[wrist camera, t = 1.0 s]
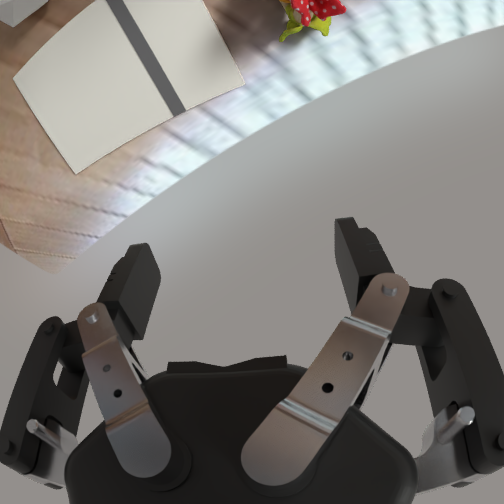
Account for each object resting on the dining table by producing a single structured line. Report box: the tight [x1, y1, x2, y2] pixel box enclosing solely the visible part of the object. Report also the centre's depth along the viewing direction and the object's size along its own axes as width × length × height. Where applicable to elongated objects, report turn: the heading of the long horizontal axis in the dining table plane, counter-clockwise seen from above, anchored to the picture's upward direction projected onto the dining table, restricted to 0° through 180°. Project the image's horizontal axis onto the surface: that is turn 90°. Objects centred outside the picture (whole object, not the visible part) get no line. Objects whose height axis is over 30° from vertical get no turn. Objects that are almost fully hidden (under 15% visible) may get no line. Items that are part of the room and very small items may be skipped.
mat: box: [13, 0, 245, 174], centre depth 28 cm, size 18×26×1 cm
